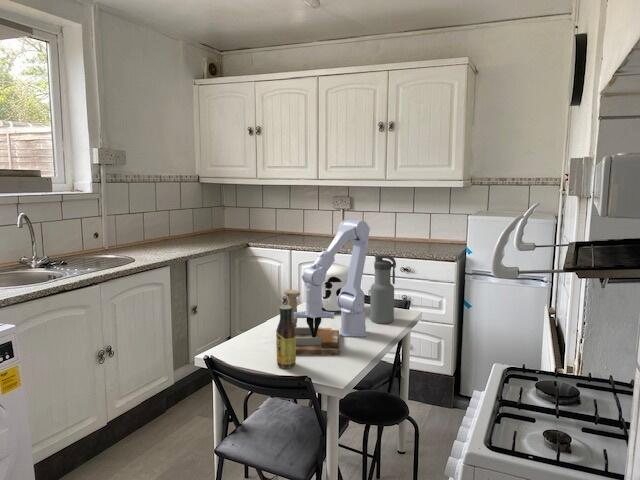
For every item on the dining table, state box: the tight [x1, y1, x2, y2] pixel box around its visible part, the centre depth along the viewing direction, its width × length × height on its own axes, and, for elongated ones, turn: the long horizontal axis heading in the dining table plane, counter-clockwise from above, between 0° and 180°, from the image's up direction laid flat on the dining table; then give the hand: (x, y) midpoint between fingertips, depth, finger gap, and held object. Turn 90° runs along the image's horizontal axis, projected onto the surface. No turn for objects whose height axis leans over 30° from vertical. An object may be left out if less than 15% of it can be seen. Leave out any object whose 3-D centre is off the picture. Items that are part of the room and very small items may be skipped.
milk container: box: [322, 266, 353, 313], centre depth 216 cm, size 17×17×18 cm
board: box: [296, 329, 341, 356], centre depth 174 cm, size 20×20×2 cm
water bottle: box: [369, 253, 397, 325], centre depth 199 cm, size 10×10×28 cm
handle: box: [283, 289, 301, 327], centre depth 191 cm, size 5×6×15 cm
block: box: [318, 327, 333, 342], centre depth 174 cm, size 5×5×4 cm
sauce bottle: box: [275, 304, 297, 369], centre depth 154 cm, size 7×6×20 cm
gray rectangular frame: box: [295, 326, 323, 345], centre depth 174 cm, size 14×12×2 cm
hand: (314, 337), depth 174 cm, fingers closed
